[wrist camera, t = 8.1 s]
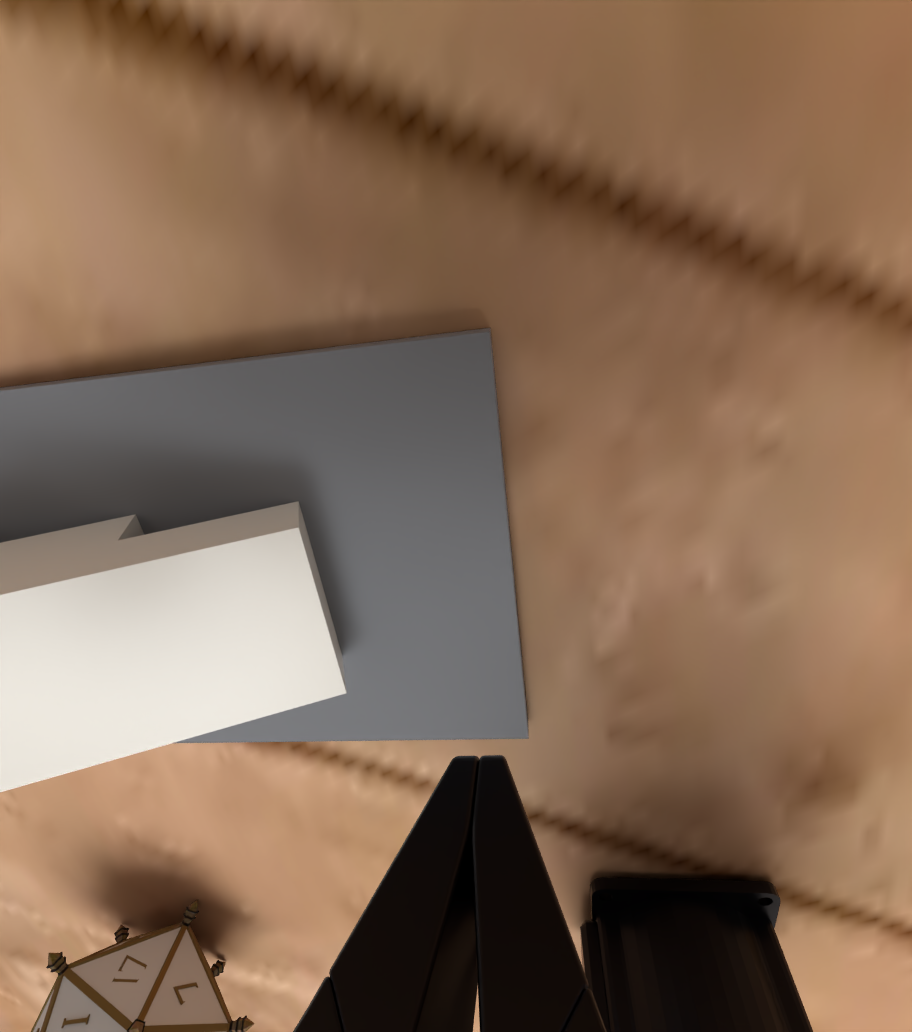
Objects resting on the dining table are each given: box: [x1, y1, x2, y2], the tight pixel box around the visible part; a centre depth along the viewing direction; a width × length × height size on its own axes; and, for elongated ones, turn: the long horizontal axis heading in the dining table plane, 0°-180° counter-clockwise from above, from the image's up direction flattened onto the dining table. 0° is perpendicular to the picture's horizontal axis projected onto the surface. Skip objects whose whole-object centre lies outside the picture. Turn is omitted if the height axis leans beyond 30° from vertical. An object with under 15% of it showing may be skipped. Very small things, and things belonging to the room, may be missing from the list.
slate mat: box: [0, 328, 529, 743], centre depth 16 cm, size 26×12×1 cm, turn 97°
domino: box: [0, 501, 346, 792], centre depth 13 cm, size 2×5×9 cm
